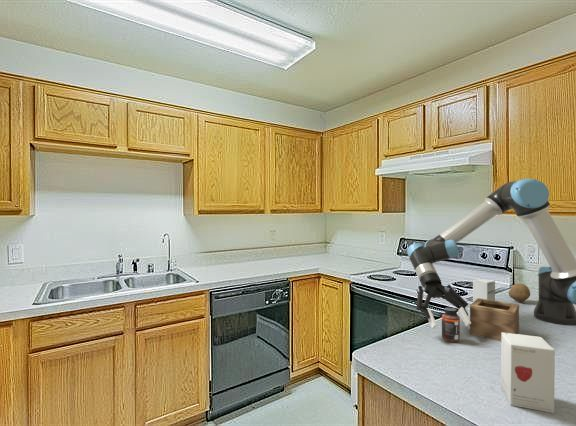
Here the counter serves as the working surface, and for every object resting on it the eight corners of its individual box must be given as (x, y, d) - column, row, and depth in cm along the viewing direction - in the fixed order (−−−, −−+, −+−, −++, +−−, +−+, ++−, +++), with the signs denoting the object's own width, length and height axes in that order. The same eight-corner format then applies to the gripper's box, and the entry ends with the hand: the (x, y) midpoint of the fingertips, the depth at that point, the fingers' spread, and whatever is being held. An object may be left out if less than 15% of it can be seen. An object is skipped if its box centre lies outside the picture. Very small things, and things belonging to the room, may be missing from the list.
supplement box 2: (509, 406, 78) (509, 344, 78) (500, 387, 86) (500, 331, 86) (556, 414, 75) (555, 349, 75) (541, 394, 83) (541, 335, 83)
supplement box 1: (487, 308, 158) (487, 282, 158) (472, 304, 164) (472, 279, 164) (495, 306, 161) (495, 280, 161) (480, 302, 168) (480, 278, 168)
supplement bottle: (462, 343, 115) (462, 311, 115) (444, 342, 116) (444, 310, 116) (456, 337, 121) (456, 307, 121) (439, 336, 122) (439, 306, 122)
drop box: (519, 332, 125) (518, 304, 125) (514, 343, 115) (514, 312, 115) (478, 324, 135) (478, 298, 135) (470, 333, 124) (470, 305, 124)
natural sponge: (533, 305, 162) (533, 285, 162) (512, 303, 165) (512, 284, 165) (527, 301, 170) (527, 282, 170) (507, 299, 174) (507, 281, 174)
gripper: (451, 280, 137) (477, 328, 122) (396, 282, 133) (415, 332, 118) (460, 270, 132) (487, 319, 117) (402, 272, 128) (424, 322, 113)
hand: (451, 325), depth 118 cm, fingers open, 13 cm apart
